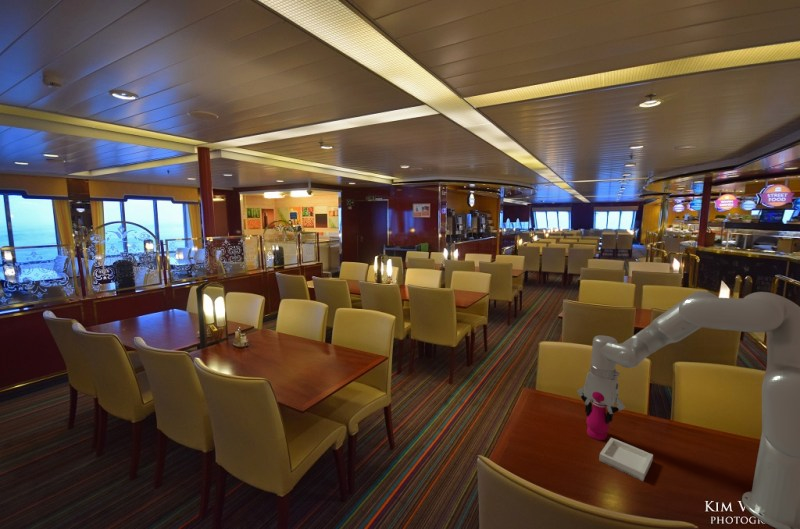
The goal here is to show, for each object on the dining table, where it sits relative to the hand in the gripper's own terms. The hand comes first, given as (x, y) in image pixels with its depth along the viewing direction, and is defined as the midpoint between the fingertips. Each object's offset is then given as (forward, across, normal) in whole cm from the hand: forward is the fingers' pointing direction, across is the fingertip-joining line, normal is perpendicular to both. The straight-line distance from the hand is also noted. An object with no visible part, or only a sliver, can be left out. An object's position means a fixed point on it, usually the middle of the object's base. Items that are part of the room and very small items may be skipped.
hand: (598, 417), depth 124 cm
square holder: (+7, -11, +8) cm, 15 cm away
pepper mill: (+7, 0, 0) cm, 7 cm away
